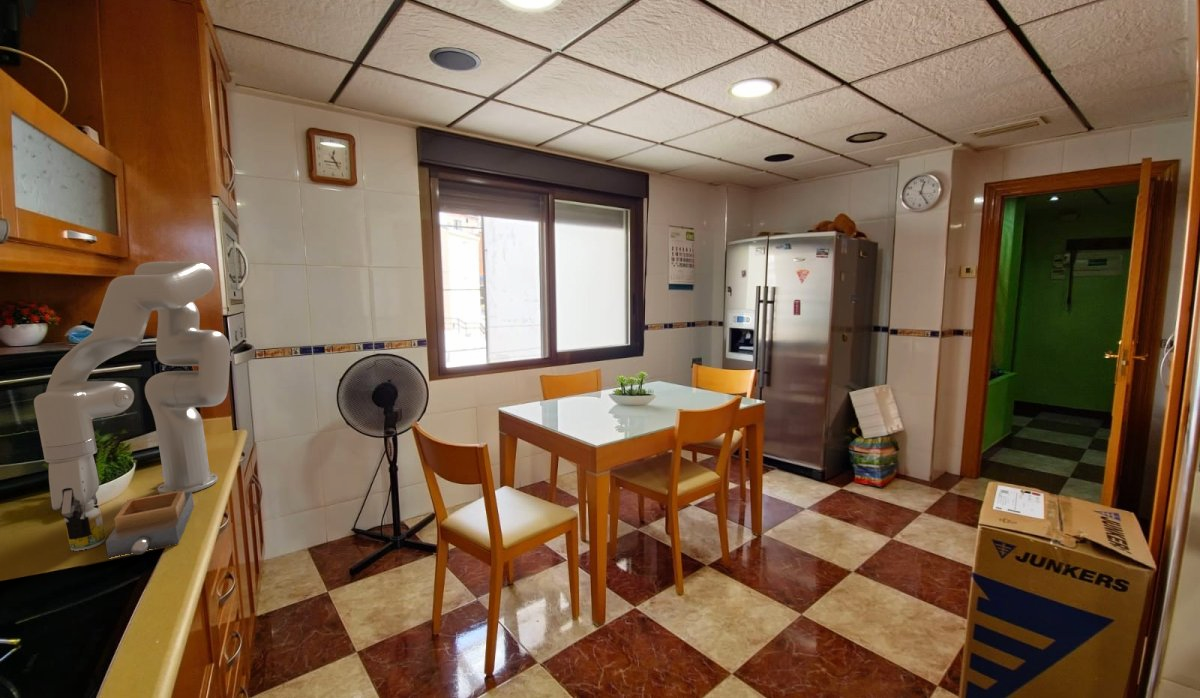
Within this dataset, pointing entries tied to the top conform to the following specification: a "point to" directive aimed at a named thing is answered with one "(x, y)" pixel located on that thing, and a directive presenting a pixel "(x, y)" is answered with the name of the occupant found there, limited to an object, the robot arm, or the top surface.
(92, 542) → the supplement bottle
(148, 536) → the gray brown rimmed box
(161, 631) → the top surface
